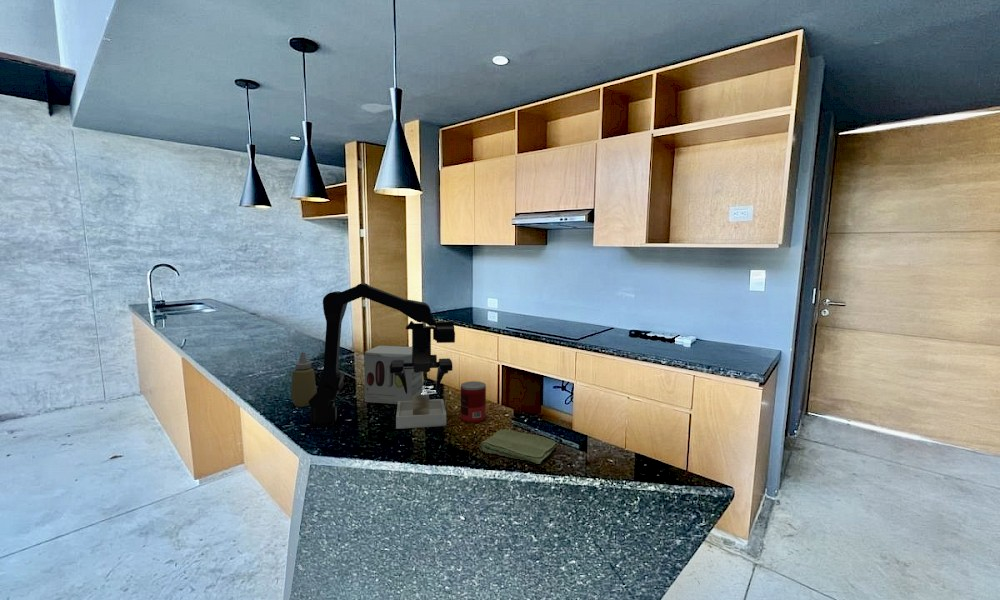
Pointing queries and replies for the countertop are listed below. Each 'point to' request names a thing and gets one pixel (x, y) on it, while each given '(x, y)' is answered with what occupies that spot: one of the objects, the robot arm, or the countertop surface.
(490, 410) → the countertop surface
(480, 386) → the canned food
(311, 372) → the squeeze bottle
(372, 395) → the supplement box
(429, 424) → the grey bin
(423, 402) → the ash block
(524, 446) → the washcloth
